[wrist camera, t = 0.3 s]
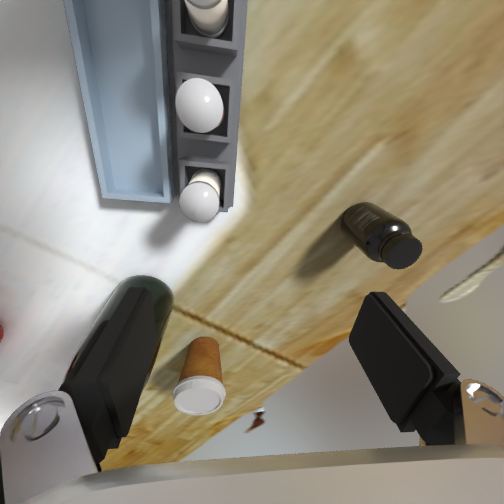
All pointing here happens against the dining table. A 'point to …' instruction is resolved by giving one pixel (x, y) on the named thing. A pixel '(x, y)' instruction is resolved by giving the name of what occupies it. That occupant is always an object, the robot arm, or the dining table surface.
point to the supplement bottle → (381, 235)
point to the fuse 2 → (201, 195)
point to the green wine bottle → (160, 298)
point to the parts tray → (125, 94)
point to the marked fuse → (199, 105)
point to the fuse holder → (228, 85)
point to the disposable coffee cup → (200, 379)
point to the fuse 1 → (209, 17)
